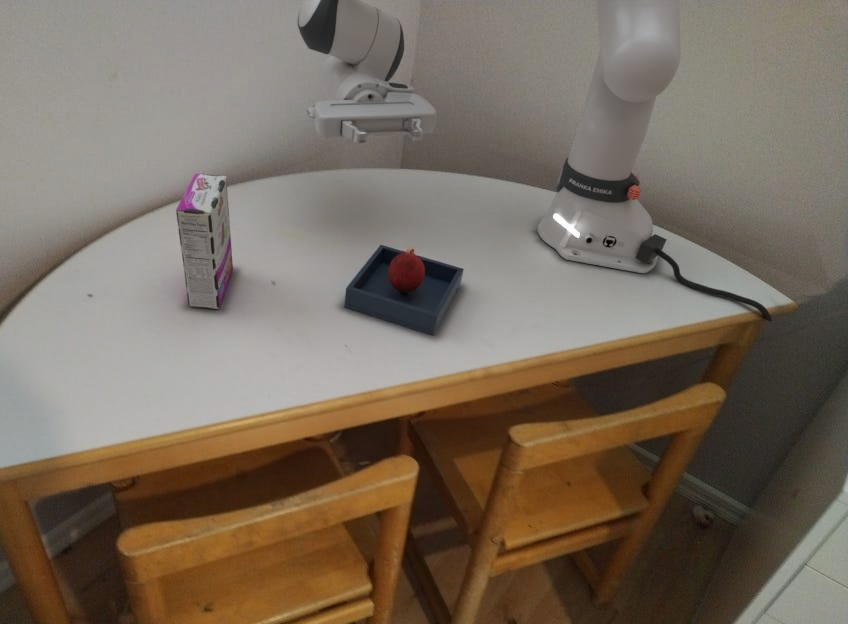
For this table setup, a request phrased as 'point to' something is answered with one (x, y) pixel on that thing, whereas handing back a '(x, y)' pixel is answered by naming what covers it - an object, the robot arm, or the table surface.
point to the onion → (406, 271)
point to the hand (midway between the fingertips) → (390, 137)
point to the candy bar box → (205, 240)
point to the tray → (405, 309)
